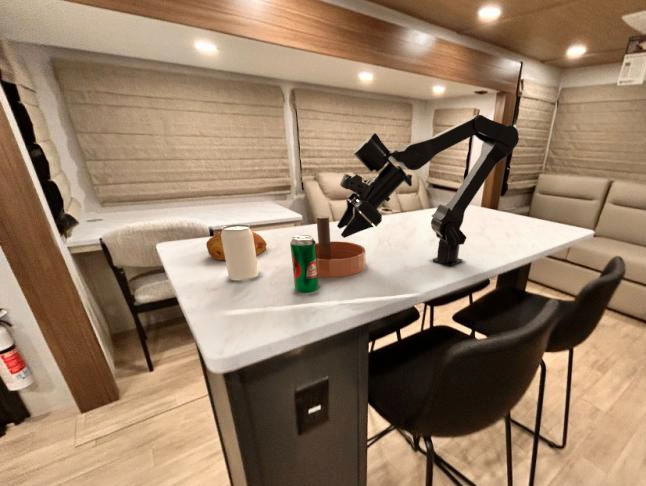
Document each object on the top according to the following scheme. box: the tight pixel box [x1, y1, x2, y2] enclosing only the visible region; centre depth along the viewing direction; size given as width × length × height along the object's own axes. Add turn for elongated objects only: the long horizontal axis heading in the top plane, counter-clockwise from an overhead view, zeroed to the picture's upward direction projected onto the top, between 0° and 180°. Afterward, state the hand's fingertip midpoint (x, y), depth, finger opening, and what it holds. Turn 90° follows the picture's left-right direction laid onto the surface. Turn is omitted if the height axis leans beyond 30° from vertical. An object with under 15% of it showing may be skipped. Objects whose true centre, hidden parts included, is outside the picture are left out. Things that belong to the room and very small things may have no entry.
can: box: [221, 224, 260, 282], centre depth 71 cm, size 6×6×12 cm
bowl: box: [316, 240, 367, 279], centre depth 80 cm, size 16×16×5 cm
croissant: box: [206, 231, 267, 261], centre depth 88 cm, size 14×16×8 cm
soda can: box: [289, 234, 320, 294], centre depth 66 cm, size 5×5×12 cm
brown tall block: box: [316, 215, 331, 260], centre depth 78 cm, size 4×3×13 cm
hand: (340, 231), depth 78 cm, fingers open, 9 cm apart
